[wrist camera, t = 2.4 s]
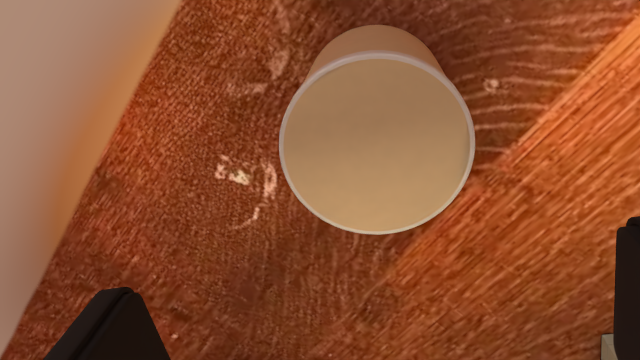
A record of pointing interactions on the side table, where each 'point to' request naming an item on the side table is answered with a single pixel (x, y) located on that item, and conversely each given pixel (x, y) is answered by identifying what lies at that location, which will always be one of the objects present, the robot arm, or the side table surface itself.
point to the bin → (608, 348)
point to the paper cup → (376, 133)
